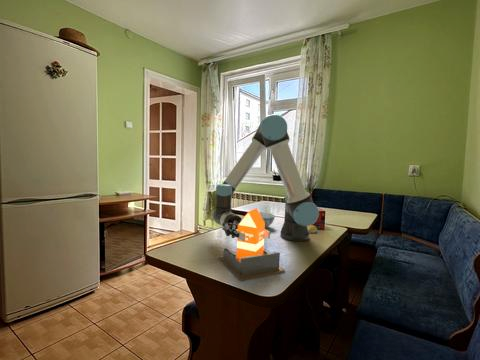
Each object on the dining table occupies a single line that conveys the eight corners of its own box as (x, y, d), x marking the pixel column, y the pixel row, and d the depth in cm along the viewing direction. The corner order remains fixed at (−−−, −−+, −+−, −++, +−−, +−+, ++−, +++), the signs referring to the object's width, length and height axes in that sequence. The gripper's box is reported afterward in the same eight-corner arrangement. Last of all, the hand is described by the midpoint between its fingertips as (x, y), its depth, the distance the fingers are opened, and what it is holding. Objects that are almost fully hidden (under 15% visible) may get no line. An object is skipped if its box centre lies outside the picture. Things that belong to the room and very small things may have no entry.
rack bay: (218, 259, 101) (218, 242, 100) (256, 253, 109) (257, 237, 108) (240, 281, 83) (241, 261, 82) (284, 272, 91) (285, 254, 91)
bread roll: (303, 228, 154) (303, 222, 154) (317, 231, 149) (318, 224, 149) (298, 231, 147) (299, 224, 147) (313, 234, 142) (314, 227, 142)
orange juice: (235, 263, 93) (238, 210, 92) (245, 255, 101) (247, 206, 100) (255, 267, 90) (257, 213, 89) (263, 259, 98) (266, 209, 97)
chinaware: (278, 226, 155) (278, 214, 154) (268, 232, 142) (268, 218, 141) (256, 222, 163) (256, 211, 162) (245, 227, 150) (245, 215, 149)
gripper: (253, 228, 116) (281, 243, 96) (207, 232, 106) (228, 250, 86) (253, 212, 116) (282, 223, 96) (207, 215, 106) (229, 228, 86)
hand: (257, 236), depth 91 cm, fingers closed on orange juice, 10 cm apart
